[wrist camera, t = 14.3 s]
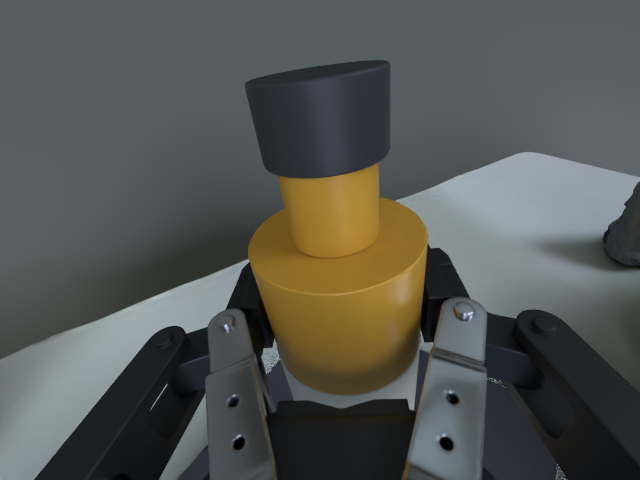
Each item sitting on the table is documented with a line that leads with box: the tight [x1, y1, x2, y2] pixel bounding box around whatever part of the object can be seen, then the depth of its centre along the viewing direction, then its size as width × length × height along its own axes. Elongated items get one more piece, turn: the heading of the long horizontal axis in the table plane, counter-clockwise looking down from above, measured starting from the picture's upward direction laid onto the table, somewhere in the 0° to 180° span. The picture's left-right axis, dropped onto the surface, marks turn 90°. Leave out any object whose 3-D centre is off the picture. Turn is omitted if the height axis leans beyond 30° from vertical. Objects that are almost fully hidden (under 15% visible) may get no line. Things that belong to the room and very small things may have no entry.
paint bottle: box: [245, 60, 428, 410], centre depth 12 cm, size 6×6×18 cm
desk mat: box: [178, 350, 556, 480], centre depth 20 cm, size 20×20×1 cm
